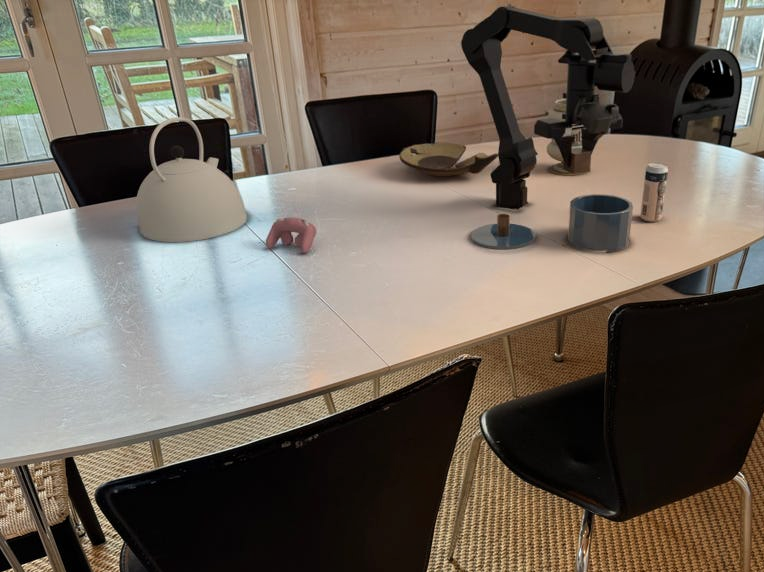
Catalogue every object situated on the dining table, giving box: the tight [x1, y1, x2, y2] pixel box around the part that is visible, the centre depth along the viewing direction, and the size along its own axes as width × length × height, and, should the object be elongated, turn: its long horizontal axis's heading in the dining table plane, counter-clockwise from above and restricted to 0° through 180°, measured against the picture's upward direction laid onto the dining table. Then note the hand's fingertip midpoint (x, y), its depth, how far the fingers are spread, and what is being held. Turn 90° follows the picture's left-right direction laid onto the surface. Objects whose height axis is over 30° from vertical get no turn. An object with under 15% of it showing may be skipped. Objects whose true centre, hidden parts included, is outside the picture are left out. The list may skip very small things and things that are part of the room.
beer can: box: [639, 162, 669, 223], centre depth 146 cm, size 5×5×12 cm
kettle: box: [135, 116, 248, 243], centre depth 145 cm, size 25×23×23 cm
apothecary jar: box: [546, 98, 582, 176], centre depth 178 cm, size 12×12×18 cm
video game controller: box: [265, 216, 317, 254], centre depth 136 cm, size 10×5×7 cm, turn 71°
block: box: [563, 148, 592, 175], centre depth 142 cm, size 4×4×4 cm
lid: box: [470, 213, 536, 250], centre depth 138 cm, size 13×13×5 cm
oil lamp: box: [398, 142, 499, 177], centre depth 179 cm, size 22×30×8 cm
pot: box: [567, 193, 634, 254], centre depth 136 cm, size 12×12×8 cm
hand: (576, 165), depth 143 cm, fingers closed on block, 4 cm apart
